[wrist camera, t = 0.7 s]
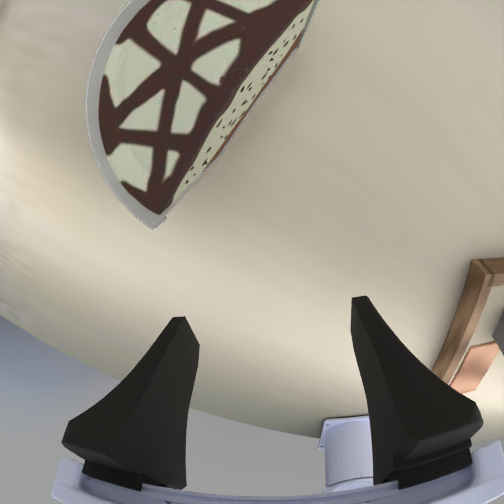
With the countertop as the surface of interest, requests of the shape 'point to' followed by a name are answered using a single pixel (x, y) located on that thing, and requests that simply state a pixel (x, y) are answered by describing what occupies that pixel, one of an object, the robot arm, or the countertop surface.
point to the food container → (181, 90)
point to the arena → (470, 329)
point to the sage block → (500, 334)
